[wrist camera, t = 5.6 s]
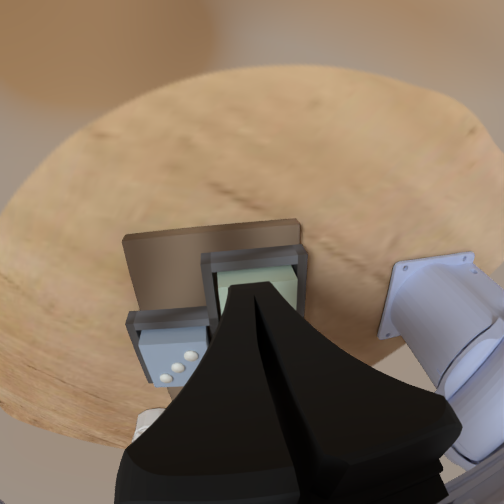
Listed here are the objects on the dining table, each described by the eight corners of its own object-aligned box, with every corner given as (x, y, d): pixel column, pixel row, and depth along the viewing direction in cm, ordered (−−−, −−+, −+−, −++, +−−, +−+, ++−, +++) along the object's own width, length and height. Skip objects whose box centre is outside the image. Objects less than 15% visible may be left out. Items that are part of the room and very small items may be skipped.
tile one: (287, 258, 20) (298, 281, 17) (286, 313, 22) (295, 339, 19) (216, 265, 19) (218, 289, 17) (223, 320, 21) (225, 347, 19)
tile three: (205, 316, 21) (205, 343, 19) (213, 360, 23) (214, 386, 21) (143, 320, 21) (137, 347, 18) (158, 363, 23) (154, 389, 20)
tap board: (298, 218, 20) (308, 233, 18) (290, 386, 27) (295, 406, 25) (113, 235, 19) (102, 252, 16) (166, 398, 26) (164, 418, 24)
